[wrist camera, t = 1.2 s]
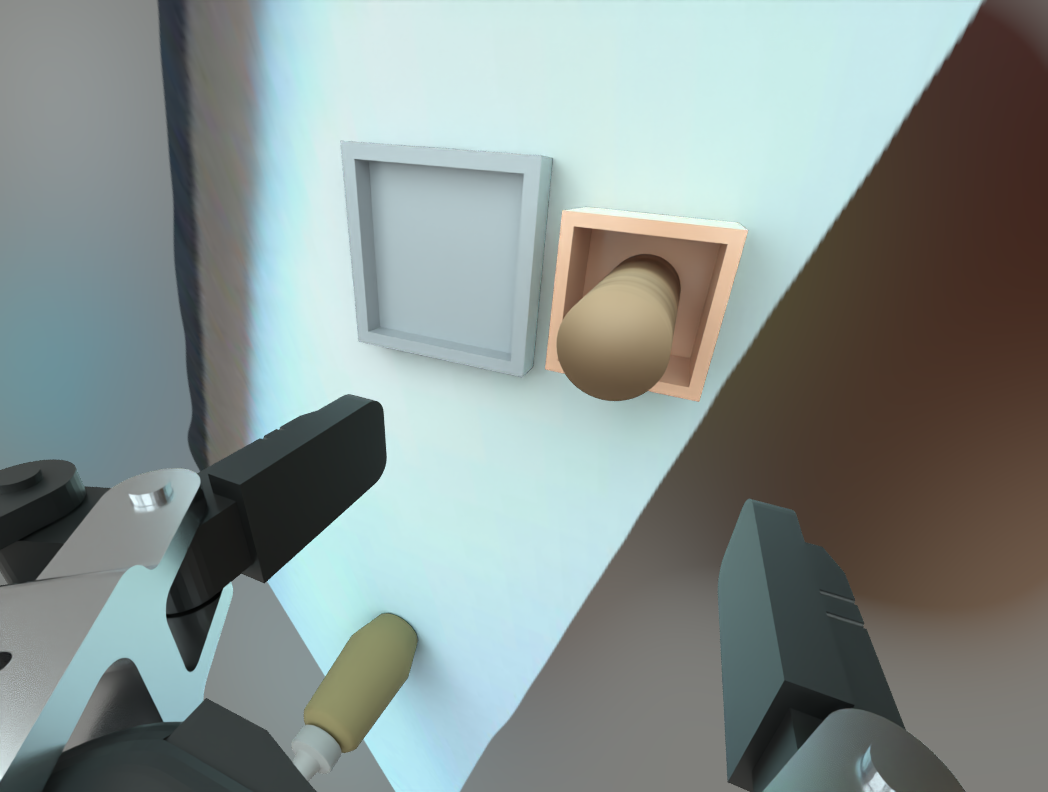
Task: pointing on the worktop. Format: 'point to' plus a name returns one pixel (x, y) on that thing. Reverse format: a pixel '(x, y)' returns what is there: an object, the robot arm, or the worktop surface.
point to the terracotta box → (686, 243)
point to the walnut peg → (622, 330)
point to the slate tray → (447, 251)
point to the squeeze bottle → (354, 693)
